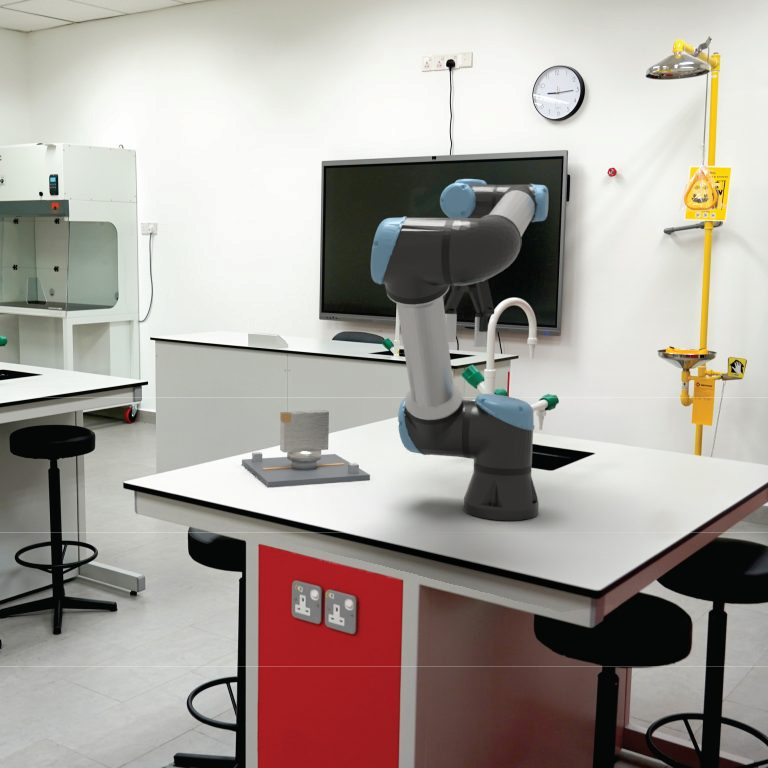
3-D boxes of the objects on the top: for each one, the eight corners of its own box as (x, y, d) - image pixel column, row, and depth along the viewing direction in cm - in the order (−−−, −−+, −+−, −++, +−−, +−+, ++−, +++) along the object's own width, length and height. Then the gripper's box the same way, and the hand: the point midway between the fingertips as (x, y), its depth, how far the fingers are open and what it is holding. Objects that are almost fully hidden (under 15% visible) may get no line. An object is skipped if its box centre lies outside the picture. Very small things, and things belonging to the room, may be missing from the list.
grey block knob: (320, 453, 219) (320, 408, 218) (332, 460, 212) (333, 413, 211) (276, 456, 215) (277, 410, 213) (287, 463, 207) (288, 415, 206)
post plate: (369, 479, 207) (370, 466, 207) (268, 487, 198) (268, 473, 198) (335, 458, 229) (335, 446, 229) (242, 464, 220) (242, 451, 220)
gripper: (427, 250, 213) (424, 339, 216) (482, 248, 191) (479, 348, 193) (455, 251, 216) (451, 339, 219) (512, 249, 194) (508, 348, 197)
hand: (464, 344), depth 206 cm, fingers open, 13 cm apart
